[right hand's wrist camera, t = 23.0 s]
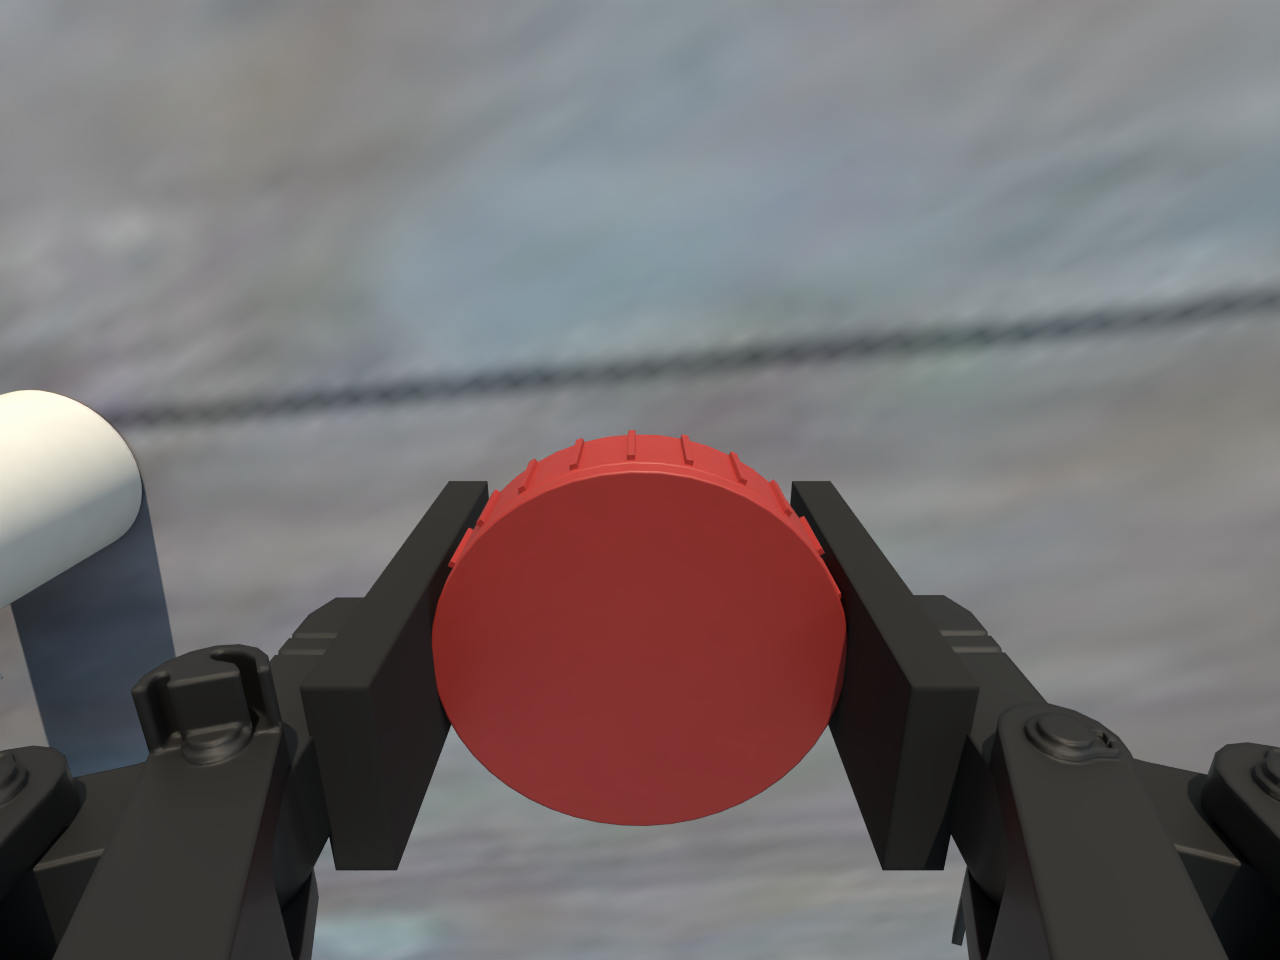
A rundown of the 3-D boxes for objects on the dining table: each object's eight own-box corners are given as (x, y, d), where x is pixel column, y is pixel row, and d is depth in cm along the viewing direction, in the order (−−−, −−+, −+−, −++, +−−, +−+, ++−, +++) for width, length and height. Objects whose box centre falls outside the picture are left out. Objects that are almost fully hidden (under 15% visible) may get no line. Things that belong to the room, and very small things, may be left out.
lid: (857, 447, 11) (895, 487, 9) (790, 765, 13) (811, 842, 11) (455, 411, 11) (423, 445, 9) (454, 740, 13) (427, 816, 11)
